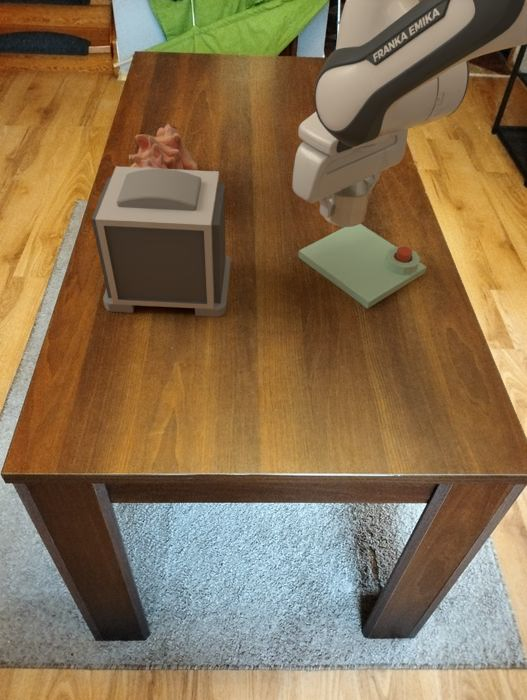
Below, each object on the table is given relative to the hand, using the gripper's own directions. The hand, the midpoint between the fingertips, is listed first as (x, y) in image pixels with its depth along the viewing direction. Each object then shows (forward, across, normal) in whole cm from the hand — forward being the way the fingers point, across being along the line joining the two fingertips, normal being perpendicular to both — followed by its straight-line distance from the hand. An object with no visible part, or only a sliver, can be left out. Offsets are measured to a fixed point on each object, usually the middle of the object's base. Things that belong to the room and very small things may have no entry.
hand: (345, 205), depth 87 cm
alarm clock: (+11, +25, -12) cm, 30 cm away
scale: (+11, -3, +3) cm, 12 cm away
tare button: (+9, -7, +8) cm, 14 cm away
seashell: (+11, +12, -34) cm, 38 cm away
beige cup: (+2, 0, 0) cm, 2 cm away
